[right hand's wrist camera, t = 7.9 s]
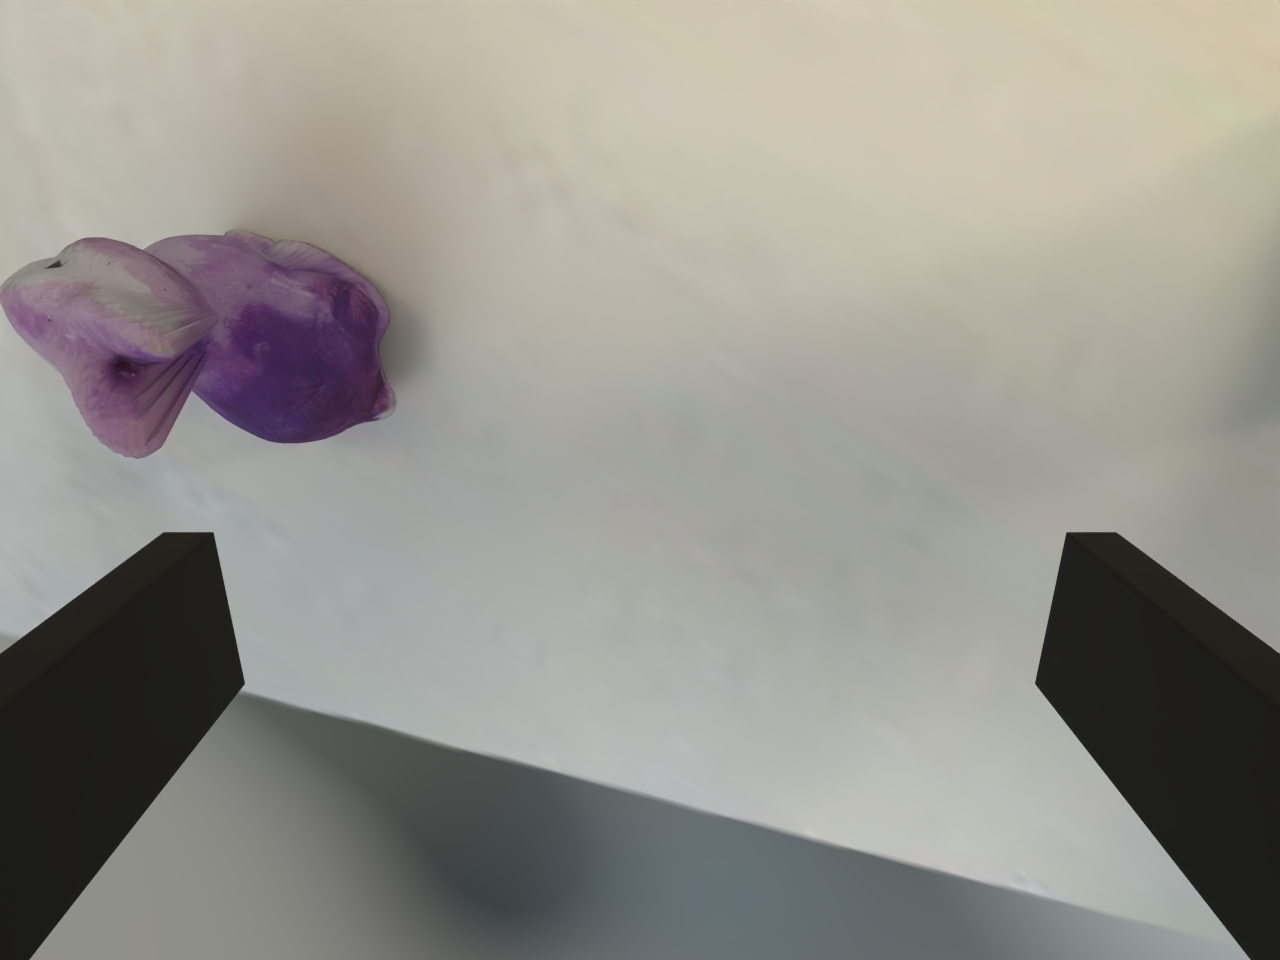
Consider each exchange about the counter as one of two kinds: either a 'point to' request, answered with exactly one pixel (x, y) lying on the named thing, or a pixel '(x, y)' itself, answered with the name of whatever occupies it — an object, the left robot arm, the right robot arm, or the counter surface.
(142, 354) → the figurine
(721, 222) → the counter surface
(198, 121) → the counter surface
